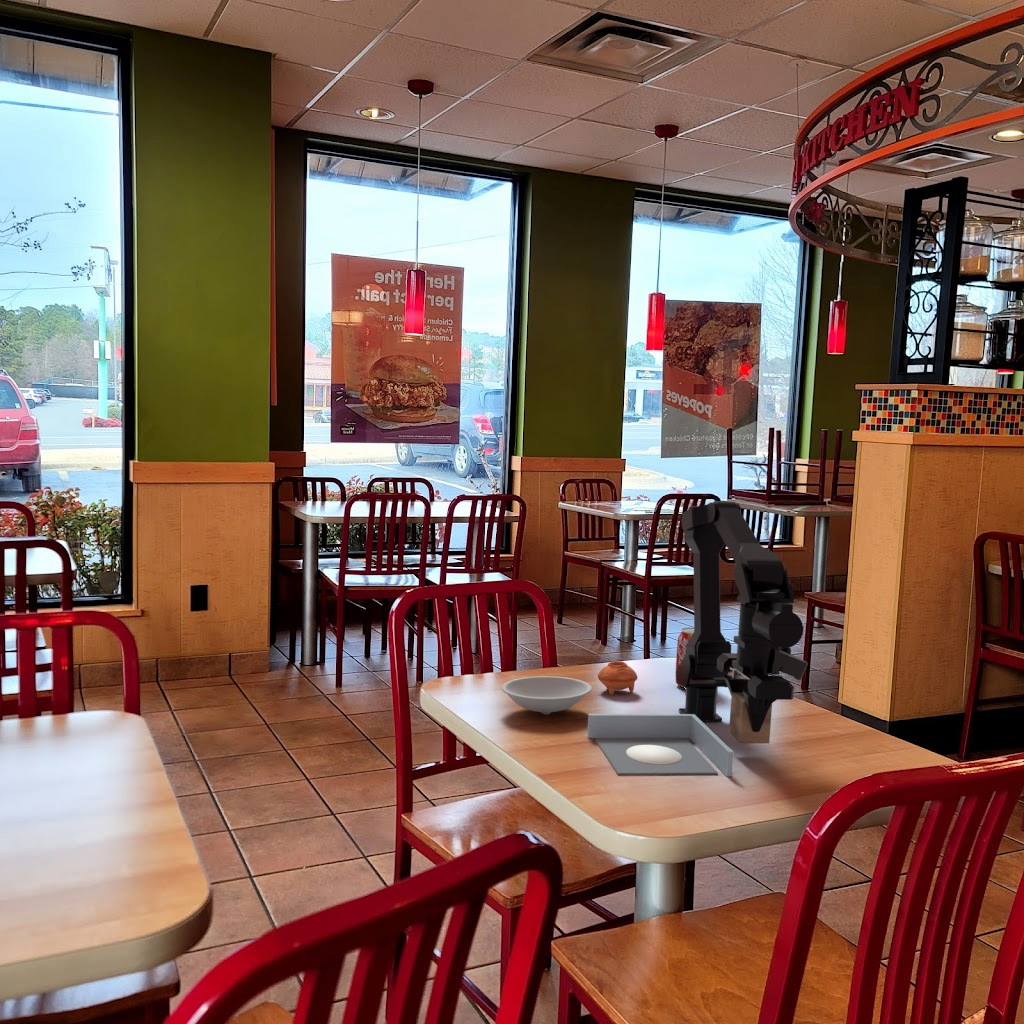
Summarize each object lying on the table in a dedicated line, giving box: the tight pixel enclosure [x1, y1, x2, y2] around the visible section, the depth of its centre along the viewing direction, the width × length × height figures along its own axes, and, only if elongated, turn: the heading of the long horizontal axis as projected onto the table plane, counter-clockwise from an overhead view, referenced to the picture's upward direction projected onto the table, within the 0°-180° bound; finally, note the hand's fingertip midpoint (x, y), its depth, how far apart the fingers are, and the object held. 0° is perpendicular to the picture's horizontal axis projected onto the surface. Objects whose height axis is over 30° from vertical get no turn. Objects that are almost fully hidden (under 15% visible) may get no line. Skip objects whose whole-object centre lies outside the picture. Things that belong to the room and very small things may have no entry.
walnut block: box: [728, 693, 773, 745], centre depth 158 cm, size 5×5×7 cm
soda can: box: [675, 627, 694, 688], centre depth 199 cm, size 7×7×12 cm
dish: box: [501, 675, 593, 715], centre depth 177 cm, size 18×14×5 cm
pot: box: [597, 660, 638, 696], centre depth 193 cm, size 8×8×7 cm
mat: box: [594, 738, 719, 776], centre depth 156 cm, size 16×16×1 cm
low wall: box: [586, 713, 734, 778], centre depth 157 cm, size 19×19×4 cm
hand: (749, 726), depth 158 cm, fingers closed on walnut block, 5 cm apart
